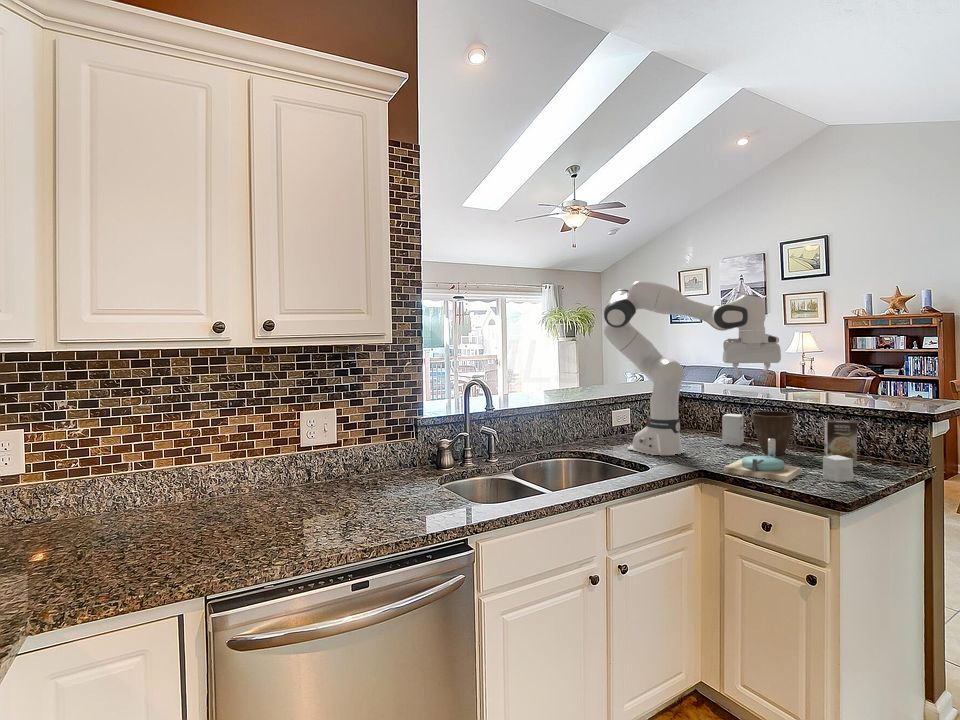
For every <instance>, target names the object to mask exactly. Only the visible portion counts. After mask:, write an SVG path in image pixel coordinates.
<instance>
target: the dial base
mask: <svg viewBox="0 0 960 720" xmlns="http://www.w3.org/2000/svg"><path fill="white" fill-rule="evenodd" d="M723 468H724V473H726V474H732V475H739V476H743V475H744V476H745V477H751V478H756V477H757V479H762V478H765V479H764V480H768V479H771V480H770V481H775V480H776V482H781V481H783V482H782V483H789V482H790V481H791V480H793V479H794V477H795V478H796V477H798V476H799V475H801V474H802V468H801V467H800V466H792V465H785V464H784V469H782V470H777V471H761V470H757V459H753V469H749V468H746V467H744V466H742V458H740V459H737V460H736V461H733V462H732V463H729V464H727V465H725V466H724V467H723ZM797 475H798V476H797ZM744 476H743V477H744ZM789 480H790V481H789Z"/></svg>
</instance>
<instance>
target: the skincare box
mask: <svg viewBox="0 0 960 720" xmlns="http://www.w3.org/2000/svg"><path fill="white" fill-rule="evenodd" d="M822 478H823V479H826V480H828V481H832V482H835V483H845V482H846V481H847V482H853V481H854V468H853V459H851V458H847V457H843V456H839V455H833V456H824V455H822Z"/></svg>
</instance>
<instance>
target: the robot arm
mask: <svg viewBox="0 0 960 720" xmlns="http://www.w3.org/2000/svg"><path fill="white" fill-rule="evenodd" d="M637 310H647V311H649V312H653V313H655V314H657V313H658V314H663V315H671V316H673V315H676V316H677V315H679V316H685V317H689V318H694V319H697V320H700V321H703V322H706V323H708V324H709V325H710V326H711V328H714V329H715V330H717V331H721V332H722V331H723V332H725V331H729V330H733V329H735V328H736V329H737V328H738V338H727V339H725V340H724V341H723V344H722V345H723V346H722V347H723V353H722V362H723V363H724V364H732V368H733V369H734V371H735V376H742V370H740V369H739V368H738V367H739V366H740V364H763V366H764V367H763V369H761V370H760V375H761V376H767V375H768V370H769V369H770V368H771V364H778V363H780V362H781V360H782V352H781V351H782V350H781V346H780V344H779V342H780V338H779V337H777V336H776V335H775V336H774V335H772V334H768V333H766V326H765V321H766V304H765V300H764V298H763V297H762V296H759V295H755V294H743V295H741V296H740V297H738V298H736V299H734V300H732V301H730V302H727V303H724V304H720V305H708V304H706V303H702V302H698V301H695V300H692V299H690V298H688V297H686V296H685V295H683V293H682V292H681V291H680V290H677V289H676V288H674V287H671V286H669V285H666V284H662V283H659V282H654V281H647V280H637V281H635V282H632V284H631V285H630V287H629V289H625V288H619V289H617V290H615V291H613V292H612V293H611V294H610V296H609V298H608V299H607V302H606V304H605V308H604V310H603V318H604V321H605V322H606V325H605V327H604V329H603V332H604V333H603V334H604V336H605V337H606V338H607V340H608V341H609V343H611V344H612V345H613V346H614V347H615V349H616V350H618V351H619V352H620V353H621V354H622V355H623V356H624V357H626V358H627V359H628V360H629V361H630V362H631V363H632V364H634V366H635V367H636V368H638V370H639V371H640V372H641V373H642V374H643V375H644V376H645V377H646V378H647V379H648V380H649V381H650V382H653V386H652V391H651V392H652V393H651V396H650V399H649V405H650V408H649V409H650V412H649V413H650V416H649V417H648V418H647V419H644V424H645V423H646V426H644V428H642V429H641V430H640V431H638V432H636V433H635V434H634V436H633V440H632V444H630V445H628V446H627V448H626V449H629V450H634V451H638V452H637V453H639V452H642V453H641V454H643V453H646V454H645V455H648V454H651V455H650V456H653V455H660V456H676V455H675V454H678V455H682V454H684V450H683V446H682V442H681V436H680V435H681V434H680V432H681V421H680V416H679V415H680V414H679V411H680V410H679V399H680V391H681V386H682V381H683V380H684V377H685V370H684V367H683V366H682V364H681V363H679V362H678V361H677V360H676V359H671V358H667V357H665V356H664V355H663V354H662V353H661V352H660V351H659V350H658V349H657V348H656V347H655V346H654V343H652V341H650V340H649V339H648V338H647V337H646V336H644V335H643V334H642V333H641V332H640V331H639V330H637V328H635V327H634V326H633V325H632V324H631V320H632V318H633V317H634V316H635V314H636V313H637ZM629 450H628V451H629ZM634 451H633V452H634ZM681 453H682V454H681Z"/></svg>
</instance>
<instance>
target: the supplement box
mask: <svg viewBox="0 0 960 720" xmlns="http://www.w3.org/2000/svg"><path fill="white" fill-rule="evenodd" d="M721 422H722V423H721V424H722V426H721V427H722V429H721V430H722V432H721V433H722V435H721V436H722V437H721V438H722V445H726V444H729V445H728V446H736V445H738V446H737V447H739V446H741V445H743V444H744V442H745V441H744V434H745V433H744V414H741V413H739V414H738V413H725V414H724V415H722V420H721Z"/></svg>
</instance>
